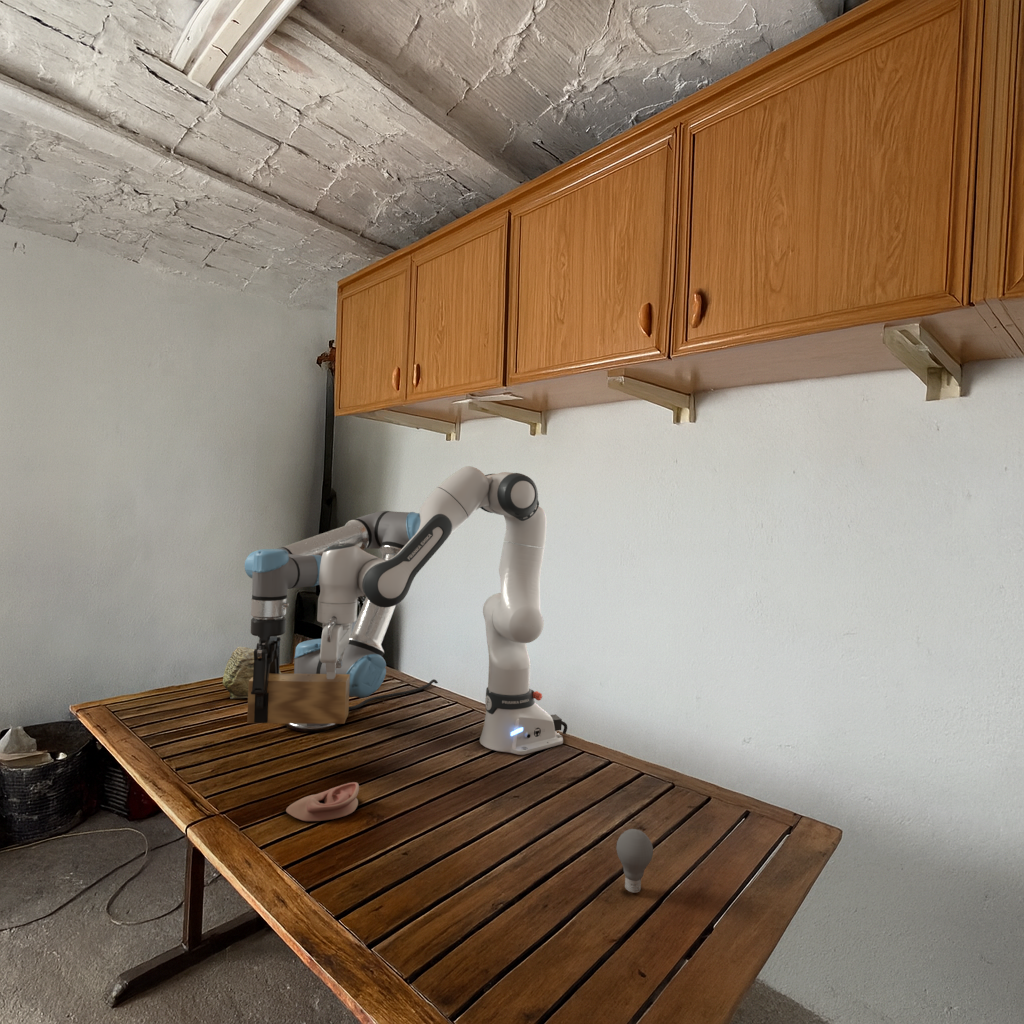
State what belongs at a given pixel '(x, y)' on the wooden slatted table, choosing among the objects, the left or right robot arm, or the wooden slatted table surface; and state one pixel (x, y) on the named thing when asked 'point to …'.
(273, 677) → the box
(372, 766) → the wooden slatted table surface
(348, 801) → the anatomical model
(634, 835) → the light bulb
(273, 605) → the left robot arm
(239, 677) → the fossil
